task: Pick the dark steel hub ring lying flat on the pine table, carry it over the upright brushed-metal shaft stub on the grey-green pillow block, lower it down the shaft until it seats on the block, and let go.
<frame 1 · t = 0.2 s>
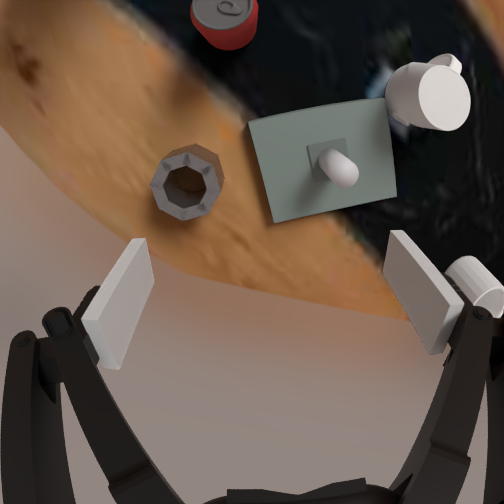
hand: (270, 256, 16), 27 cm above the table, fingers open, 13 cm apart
steel hub: (193, 174, 41), on the table
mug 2: (413, 87, 35), on the table
beer can: (230, 28, 32), on the table
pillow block: (326, 156, 40), on the table
mug: (463, 278, 51), on the table
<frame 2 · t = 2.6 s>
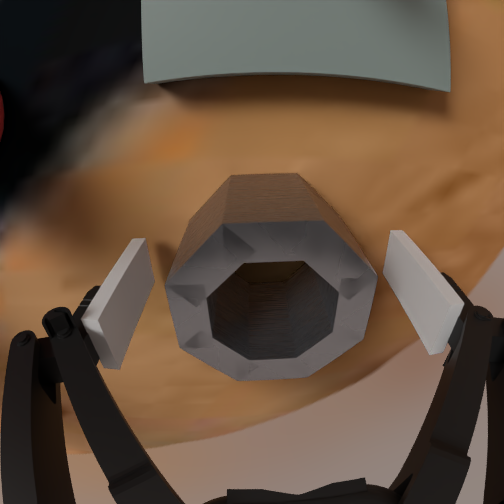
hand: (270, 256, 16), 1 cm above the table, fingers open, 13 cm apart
steel hub: (265, 245, 17), on the table
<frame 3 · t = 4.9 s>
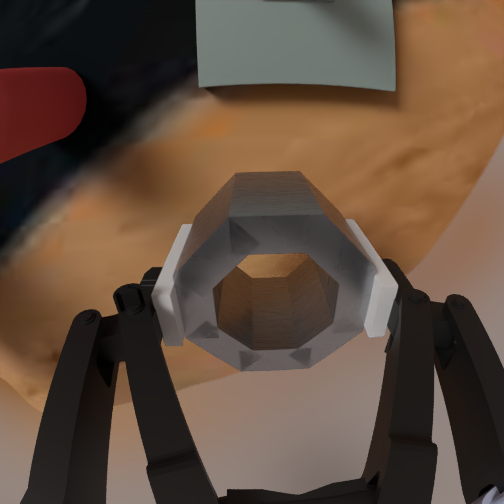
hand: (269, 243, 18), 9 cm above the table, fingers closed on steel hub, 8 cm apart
steel hub: (268, 240, 18), point 8 cm above the table, touching gripper
beer can: (61, 102, 21), on the table
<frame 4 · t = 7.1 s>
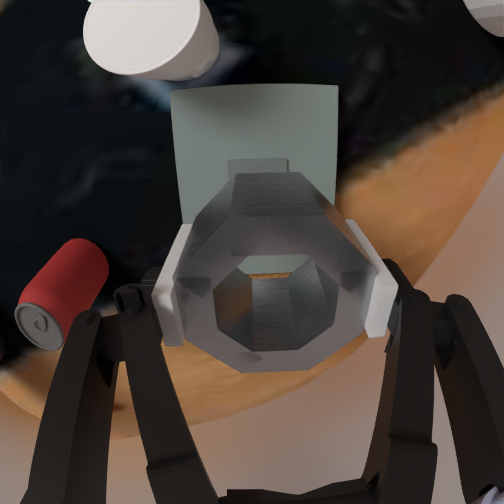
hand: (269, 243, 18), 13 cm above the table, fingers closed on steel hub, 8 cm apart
steel hub: (269, 241, 18), point 13 cm above the table, touching gripper
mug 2: (162, 32, 22), on the table
beer can: (86, 260, 33), on the table
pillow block: (257, 180, 29), on the table
when the fingers open (4 cm above the table, at t = 9.5 s): steel hub drops 1 cm, resting on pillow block.
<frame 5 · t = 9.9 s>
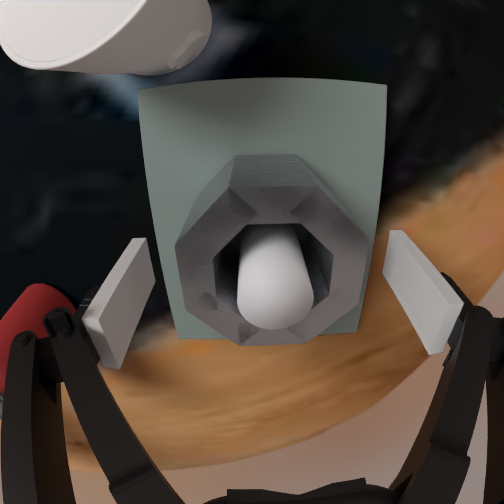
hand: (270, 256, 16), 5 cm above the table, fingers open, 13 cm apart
steel hub: (266, 221, 19), point 2 cm above the table, touching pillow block
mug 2: (131, 8, 14), on the table
beer can: (54, 307, 25), on the table
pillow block: (266, 217, 21), on the table
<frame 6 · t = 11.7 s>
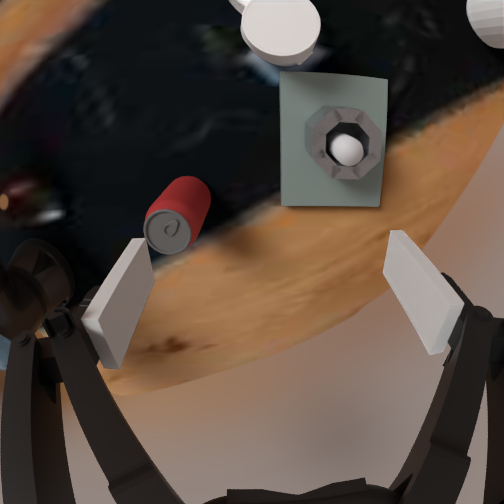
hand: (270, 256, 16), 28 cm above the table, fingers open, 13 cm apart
steel hub: (335, 136, 37), point 2 cm above the table, touching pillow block
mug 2: (270, 30, 33), on the table
beer can: (189, 196, 44), on the table
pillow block: (332, 139, 39), on the table
mug: (490, 16, 26), on the table
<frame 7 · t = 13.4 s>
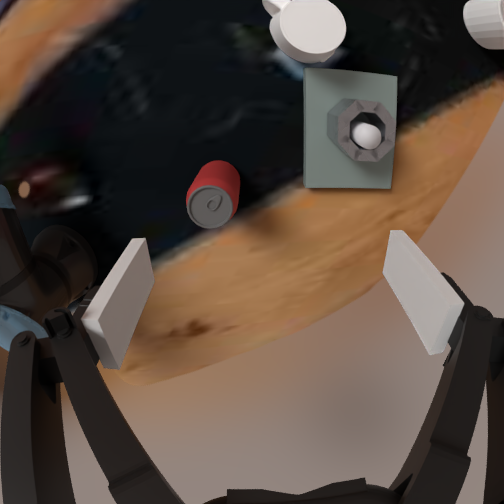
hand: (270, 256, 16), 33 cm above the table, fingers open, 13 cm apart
steel hub: (353, 125, 41), point 2 cm above the table, touching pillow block
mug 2: (294, 31, 36), on the table
beer can: (219, 179, 48), on the table
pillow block: (349, 128, 43), on the table
mug: (484, 21, 31), on the table
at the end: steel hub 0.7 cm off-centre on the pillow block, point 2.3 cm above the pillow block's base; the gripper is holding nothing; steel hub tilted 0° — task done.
